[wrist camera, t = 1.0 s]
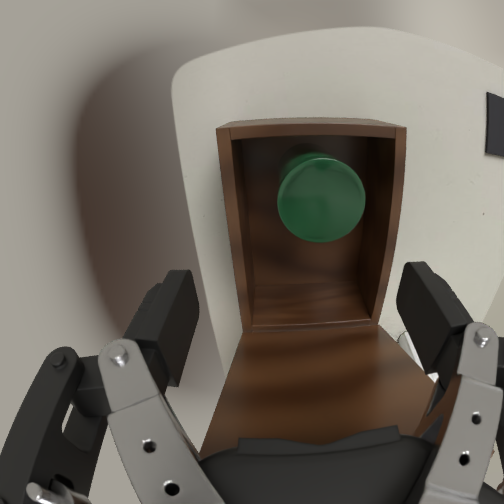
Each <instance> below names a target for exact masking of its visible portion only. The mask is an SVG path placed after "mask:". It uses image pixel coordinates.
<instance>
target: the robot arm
mask: <svg viewBox="0 0 504 504" xmlns="http://www.w3.org/2000/svg"><path fill="white" fill-rule="evenodd" d="M396 305H397V310H398V312H399V314H400V316H401V319H402V321H403V323H404V325H405V327H406V329H407V332H408V334H409V336H410V338H411V341H412V343H413V345H414V348H415V350H416V352H417V355H418V357H419V360H420V362H421V365H422V367H423V370H424V372H425V375H428V374H433V373H437V374H438V376H439V377H438V378H437V380H436V382H435V384H434V387H433V390H432V393H431V396H430V399H429V401H428V404H427V407H426V409H425V412H424V414H423V417H422V419H421V421H420V423H419V425H418V427H417V429H416V430H415V432H414V433H413V435H407V434H399V429H398V425H392V426H387V427H382V428H377V429H371V430H365V431H361V432H358V433H356V434H353V435H350V436H348V437H345V438H342V439H340V440H337V441H334V442H331V443H328V444H324V445H316V444H309V443H303V442H297V441H292V440H286V439H281V438H240V437H238V447H232V448H228V449H224V450H221V451H218V452H216V453H213V454H211V455H209V456H207V457H205V458H203V459H202V457H201V456H200V454H199V453H198V451H197V450H196V448H195V447H194V445H193V443H192V442H191V440H190V439H189V437H188V436H187V434H186V432H185V431H184V429H183V427H182V426H181V424H180V422H179V420H178V419H177V417H176V415H175V413H174V411H173V409H172V407H171V406H170V404H169V402H168V400H167V398H166V396H165V392H166V388H167V386H173V387H178V386H179V383H180V379H181V376H182V372H183V369H184V365H185V362H186V359H187V355H188V352H189V348H190V345H191V341H192V338H193V335H194V332H195V328H196V325H197V322H198V318H199V302H198V297H197V293H196V289H195V285H194V280H193V276H192V273H191V271H190V270H170V271H169V272H168V274H167V276H166V278H165V279H164V281H163V283H157V284H156V285H155V286H154V287H153V288H151V289H150V290H149V291H148V292H147V294H146V296H145V298H144V299H143V303H141V305H140V306H139V308H138V311H137V312H136V314H135V315H134V318H133V319H132V321H131V323H130V325H129V327H128V329H127V330H126V332H125V334H124V336H123V338H122V339H118V340H115V341H112V342H110V343H109V344H107V345H106V346H105V347H104V348H103V349H102V350H101V352H100V354H99V355H97V356H89V357H82V358H79V356H78V355H77V353H76V352H75V350H74V349H72V348H71V347H60V348H57V349H55V350H53V351H52V352H51V353H50V354H49V355H48V356H47V357H46V359H45V360H44V362H43V364H42V366H41V368H40V369H39V372H38V373H37V375H36V377H35V379H34V381H33V383H32V385H31V386H30V388H29V390H28V392H27V395H26V396H25V398H24V400H23V402H22V405H21V407H20V409H19V411H18V413H17V416H16V418H15V420H14V422H13V424H12V427H11V429H10V431H9V434H8V437H7V439H6V441H5V444H4V447H3V449H2V452H1V455H0V504H91V502H90V501H89V499H88V496H89V491H90V487H91V483H92V479H93V475H94V471H95V467H96V464H97V460H98V456H99V453H100V449H101V446H102V442H103V439H104V435H105V432H106V429H107V426H108V424H109V427H110V430H111V433H112V436H113V439H114V442H115V445H116V447H117V450H118V452H119V455H120V458H121V460H122V463H123V465H124V467H125V470H126V472H127V475H128V477H129V479H130V481H131V484H132V486H133V488H134V490H135V492H136V494H137V496H138V498H139V500H140V502H141V504H504V478H503V482H502V483H500V484H499V485H498V487H497V490H495V489H493V488H492V487H491V486H489V485H488V484H486V483H485V482H483V480H484V478H485V474H486V471H487V468H488V465H489V462H490V458H491V455H492V451H493V446H494V443H495V439H496V442H497V446H498V450H499V455H500V459H501V464H502V469H503V474H504V337H498V336H497V334H496V332H495V331H494V330H493V329H492V328H491V327H490V326H488V325H486V324H484V323H481V322H474V321H473V319H472V318H471V316H470V315H469V313H468V312H467V310H466V309H465V307H464V306H463V304H462V303H461V301H460V300H459V299H458V298H457V296H456V294H455V293H454V292H453V291H452V289H451V287H450V286H449V285H448V283H447V282H446V281H445V280H444V279H443V278H441V277H440V276H439V275H437V274H436V273H433V271H432V270H431V269H430V267H429V266H428V265H427V263H426V262H424V261H421V262H407V263H406V264H405V265H404V268H403V273H402V277H401V281H400V285H399V289H398V293H397V297H396ZM70 403H71V404H72V405H73V409H72V411H71V414H70V416H69V419H68V421H67V424H66V427H65V430H64V432H63V433H62V423H63V420H64V418H65V415H66V413H67V410H68V408H69V405H70Z"/></svg>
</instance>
